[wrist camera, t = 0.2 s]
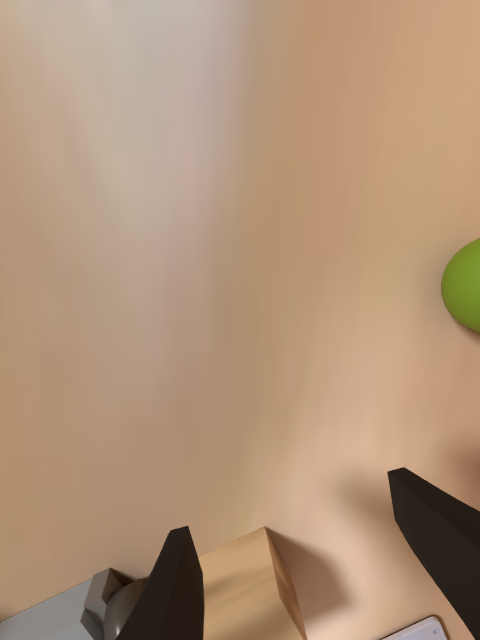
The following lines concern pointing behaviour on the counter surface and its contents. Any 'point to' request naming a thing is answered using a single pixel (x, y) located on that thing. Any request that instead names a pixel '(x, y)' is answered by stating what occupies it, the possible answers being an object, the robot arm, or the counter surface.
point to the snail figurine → (463, 286)
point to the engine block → (249, 592)
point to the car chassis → (77, 612)
